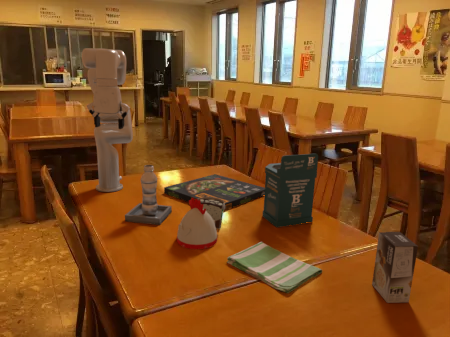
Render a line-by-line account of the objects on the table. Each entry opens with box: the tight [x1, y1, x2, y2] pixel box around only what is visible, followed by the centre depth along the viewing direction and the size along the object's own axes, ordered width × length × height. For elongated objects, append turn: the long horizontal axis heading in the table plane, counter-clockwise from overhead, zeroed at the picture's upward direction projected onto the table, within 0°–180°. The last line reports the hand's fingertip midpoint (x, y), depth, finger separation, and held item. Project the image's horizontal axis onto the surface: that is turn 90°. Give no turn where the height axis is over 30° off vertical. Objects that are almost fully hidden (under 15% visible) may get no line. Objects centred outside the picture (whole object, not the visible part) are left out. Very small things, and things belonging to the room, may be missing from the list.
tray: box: [124, 202, 173, 226], centre depth 149 cm, size 14×14×2 cm
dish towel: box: [226, 241, 323, 294], centre depth 113 cm, size 18×23×3 cm
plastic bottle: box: [140, 164, 159, 216], centre depth 147 cm, size 6×7×20 cm
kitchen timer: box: [176, 198, 218, 250], centre depth 128 cm, size 14×14×15 cm
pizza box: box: [163, 174, 265, 212], centre depth 179 cm, size 35×35×4 cm
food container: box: [198, 197, 225, 230], centre depth 143 cm, size 12×6×10 cm, turn 65°
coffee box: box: [371, 231, 419, 304], centre depth 100 cm, size 9×6×16 cm
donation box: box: [261, 153, 319, 229], centre depth 149 cm, size 16×16×28 cm
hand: (109, 127), depth 148 cm, fingers open, 9 cm apart
